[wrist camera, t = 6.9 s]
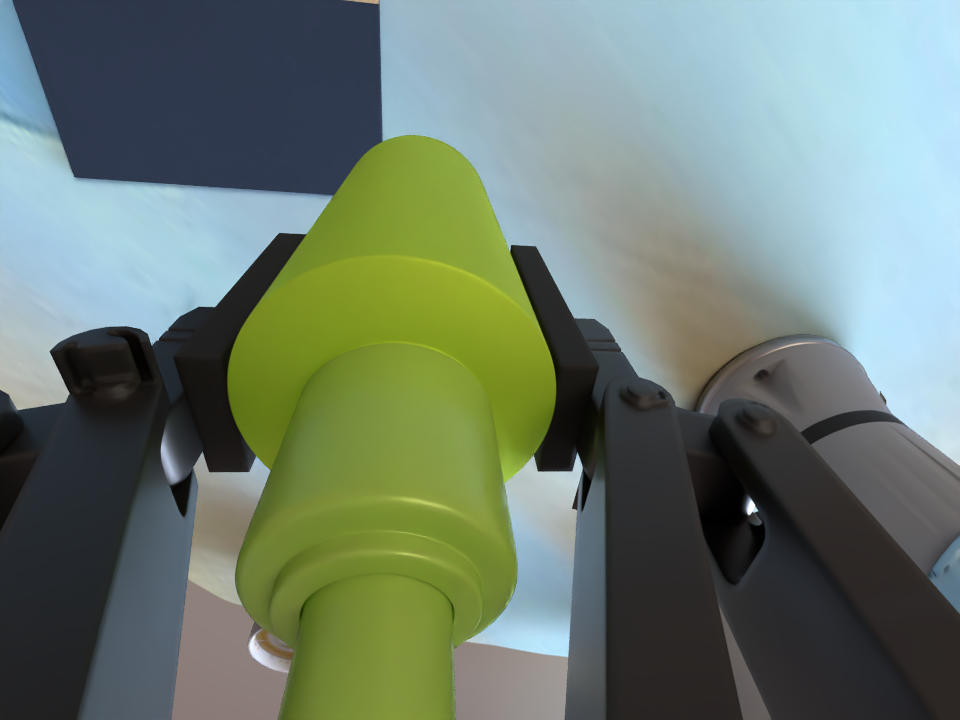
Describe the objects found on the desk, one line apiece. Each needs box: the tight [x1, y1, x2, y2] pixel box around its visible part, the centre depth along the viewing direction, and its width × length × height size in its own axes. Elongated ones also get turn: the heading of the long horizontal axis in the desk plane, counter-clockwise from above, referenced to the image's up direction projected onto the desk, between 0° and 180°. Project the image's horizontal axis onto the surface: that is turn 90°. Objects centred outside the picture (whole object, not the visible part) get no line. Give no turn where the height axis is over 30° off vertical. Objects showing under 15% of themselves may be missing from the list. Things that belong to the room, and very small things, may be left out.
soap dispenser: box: [227, 135, 556, 720], centre depth 11 cm, size 6×7×20 cm
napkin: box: [13, 0, 382, 195], centre depth 27 cm, size 20×20×1 cm
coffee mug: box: [248, 622, 294, 673], centre depth 49 cm, size 13×10×10 cm
